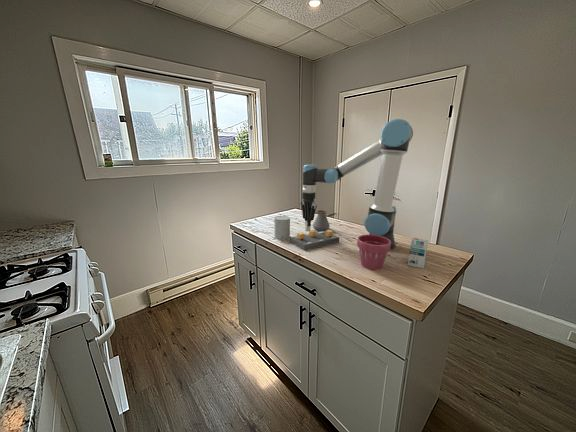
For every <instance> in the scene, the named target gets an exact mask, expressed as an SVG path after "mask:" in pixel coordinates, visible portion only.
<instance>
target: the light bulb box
mask: <svg viewBox="0 0 576 432" xmlns="http://www.w3.org/2000/svg"><path fill="white" fill-rule="evenodd" d="M428 242H429V240H428V239H423V238H418V237H412V239H411V241H410V248H409V253H408V261H407V262H408V263H407V266H411V267H415V268H419V269H424V268H425V266H426V265H425V264H426V259H427V252H428V244H429V243H428Z"/></svg>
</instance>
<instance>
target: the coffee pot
mask: <svg viewBox="0 0 576 432" xmlns="http://www.w3.org/2000/svg"><path fill="white" fill-rule="evenodd" d="M316 212H317V214H316V217H315V218H314V219H315V220H313V221H314V222H313V224H312V227H313V230H315V231H317V232H320V231H327V230H330V223H329V221H328V217H332V216H336V217H338V215H339V214H337V213H336V212H334V213H330V214H328V215H326V214H327V212H328V211H326V210H324V209H323V210H321V209H319V210H316Z"/></svg>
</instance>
